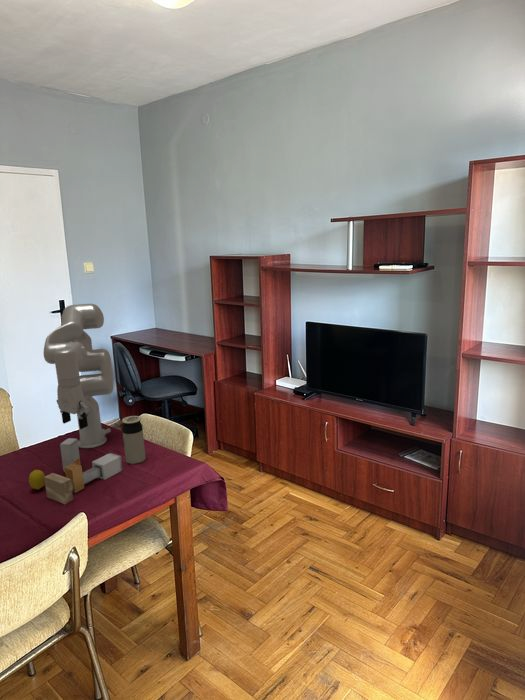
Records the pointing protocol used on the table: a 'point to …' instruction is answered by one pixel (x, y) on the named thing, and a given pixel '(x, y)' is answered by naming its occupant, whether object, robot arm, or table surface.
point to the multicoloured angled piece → (81, 475)
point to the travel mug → (133, 439)
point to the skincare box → (70, 452)
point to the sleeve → (109, 465)
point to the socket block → (58, 488)
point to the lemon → (37, 479)
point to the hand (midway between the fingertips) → (75, 424)
